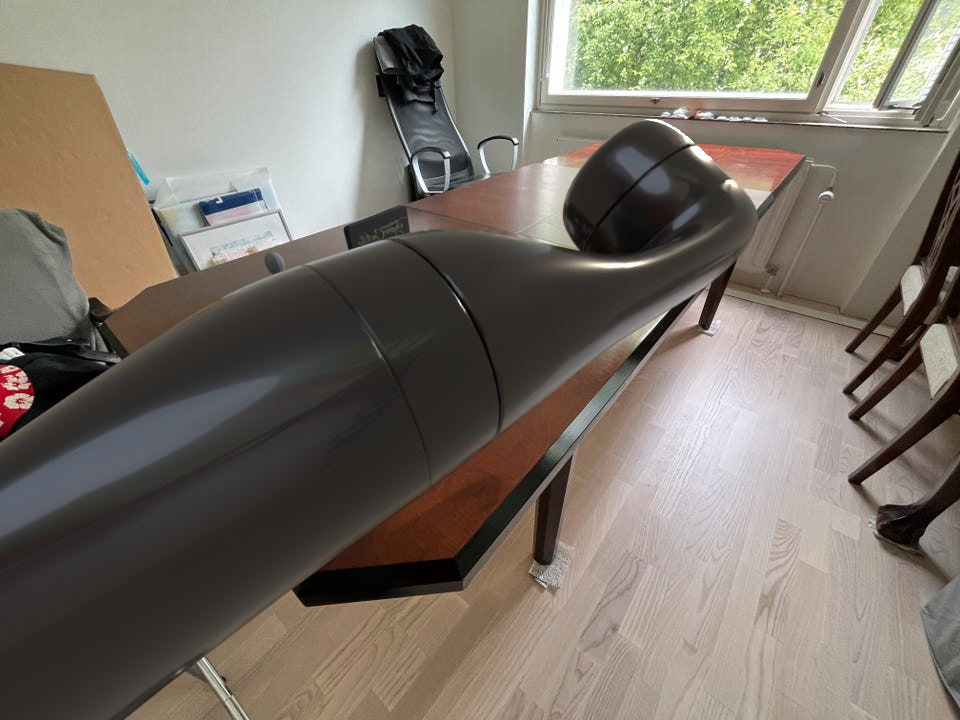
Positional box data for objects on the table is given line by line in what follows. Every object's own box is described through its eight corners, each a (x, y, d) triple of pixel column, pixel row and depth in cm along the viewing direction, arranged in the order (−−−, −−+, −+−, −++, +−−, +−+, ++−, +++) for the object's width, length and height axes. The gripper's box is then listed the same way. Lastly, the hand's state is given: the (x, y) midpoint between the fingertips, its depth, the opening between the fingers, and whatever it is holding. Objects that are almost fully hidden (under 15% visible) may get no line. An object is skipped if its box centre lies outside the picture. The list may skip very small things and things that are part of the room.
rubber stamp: (314, 308, 80) (296, 254, 73) (288, 319, 77) (266, 263, 69) (293, 294, 86) (274, 242, 78) (268, 303, 82) (245, 250, 75)
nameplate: (406, 239, 111) (400, 204, 105) (411, 240, 110) (406, 205, 104) (352, 265, 97) (342, 226, 91) (357, 267, 96) (347, 228, 90)
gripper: (512, 257, 56) (397, 271, 54) (545, 303, 45) (401, 324, 43) (511, 301, 61) (405, 316, 58) (541, 353, 50) (412, 374, 47)
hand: (404, 319), depth 50 cm, fingers closed on ink box, 5 cm apart
